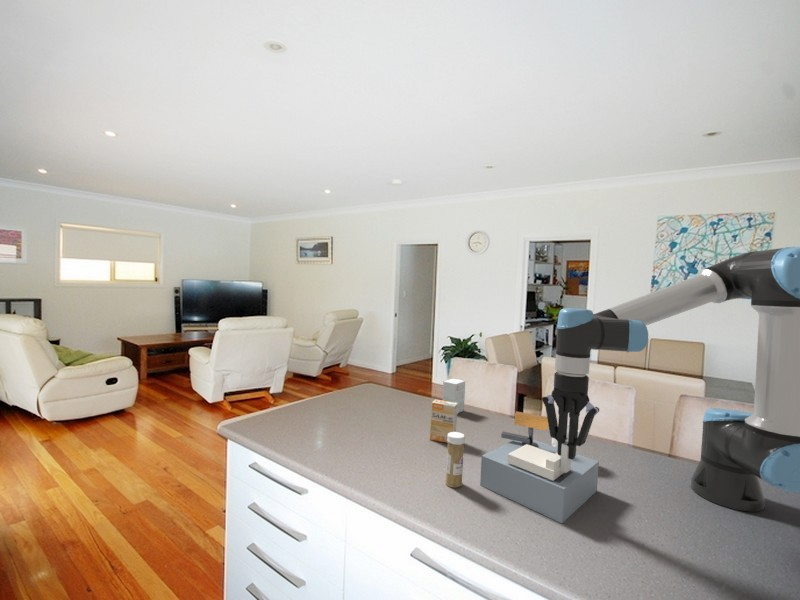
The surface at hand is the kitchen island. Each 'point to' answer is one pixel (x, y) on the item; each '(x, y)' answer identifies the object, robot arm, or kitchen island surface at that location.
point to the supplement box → (443, 419)
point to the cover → (536, 461)
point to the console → (540, 482)
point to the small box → (454, 392)
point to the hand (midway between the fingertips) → (565, 470)
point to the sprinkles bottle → (454, 459)
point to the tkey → (530, 422)
